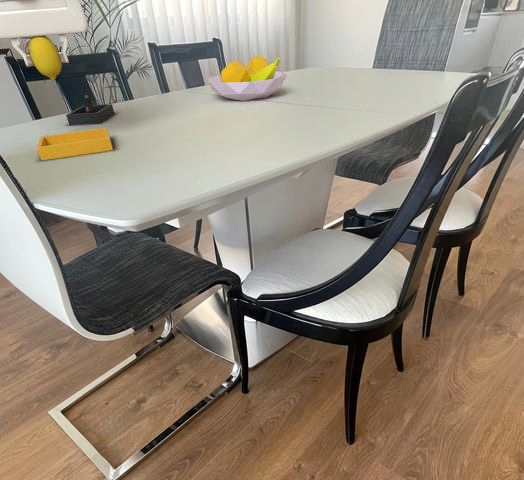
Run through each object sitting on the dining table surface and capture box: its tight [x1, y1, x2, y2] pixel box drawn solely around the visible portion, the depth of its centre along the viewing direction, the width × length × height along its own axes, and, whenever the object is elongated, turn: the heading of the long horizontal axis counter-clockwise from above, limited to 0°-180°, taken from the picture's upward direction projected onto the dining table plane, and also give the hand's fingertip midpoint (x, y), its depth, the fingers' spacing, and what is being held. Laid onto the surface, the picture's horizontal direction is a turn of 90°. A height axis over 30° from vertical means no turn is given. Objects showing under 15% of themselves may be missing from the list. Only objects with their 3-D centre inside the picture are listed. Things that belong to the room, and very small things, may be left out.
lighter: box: [84, 94, 94, 113], centre depth 116 cm, size 8×2×5 cm
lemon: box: [28, 36, 62, 81], centre depth 80 cm, size 6×6×8 cm
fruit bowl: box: [208, 55, 288, 102], centre depth 128 cm, size 28×27×11 cm
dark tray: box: [65, 103, 116, 126], centre depth 117 cm, size 14×10×3 cm
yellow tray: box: [36, 127, 114, 161], centre depth 91 cm, size 16×12×3 cm
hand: (48, 64), depth 81 cm, fingers closed on lemon, 5 cm apart
